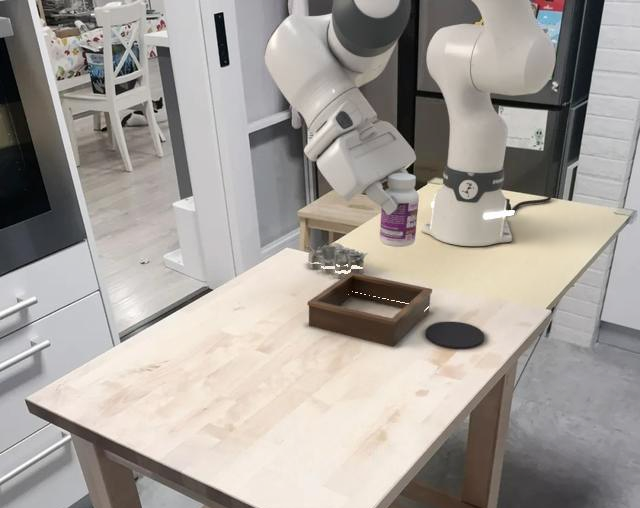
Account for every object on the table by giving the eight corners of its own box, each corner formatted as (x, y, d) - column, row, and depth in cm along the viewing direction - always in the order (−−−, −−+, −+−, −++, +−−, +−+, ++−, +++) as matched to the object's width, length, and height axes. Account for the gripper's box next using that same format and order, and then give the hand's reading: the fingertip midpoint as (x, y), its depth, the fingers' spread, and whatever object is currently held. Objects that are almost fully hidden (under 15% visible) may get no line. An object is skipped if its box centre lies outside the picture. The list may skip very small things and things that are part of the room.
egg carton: (302, 266, 136) (301, 244, 133) (331, 257, 140) (331, 236, 138) (340, 281, 129) (341, 259, 127) (370, 272, 133) (371, 250, 131)
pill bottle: (413, 249, 105) (418, 181, 100) (377, 246, 106) (381, 179, 100) (416, 237, 109) (422, 172, 104) (382, 234, 110) (385, 170, 105)
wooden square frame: (349, 294, 124) (350, 271, 122) (430, 312, 118) (432, 288, 116) (307, 326, 113) (307, 301, 111) (393, 347, 107) (395, 322, 105)
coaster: (431, 320, 116) (431, 318, 116) (487, 328, 113) (488, 326, 113) (420, 343, 109) (420, 341, 108) (479, 353, 106) (479, 350, 106)
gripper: (363, 129, 112) (415, 200, 114) (297, 154, 97) (358, 237, 99) (390, 100, 108) (445, 175, 110) (326, 123, 93) (390, 209, 95)
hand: (403, 205), depth 104 cm, fingers closed on pill bottle, 5 cm apart
